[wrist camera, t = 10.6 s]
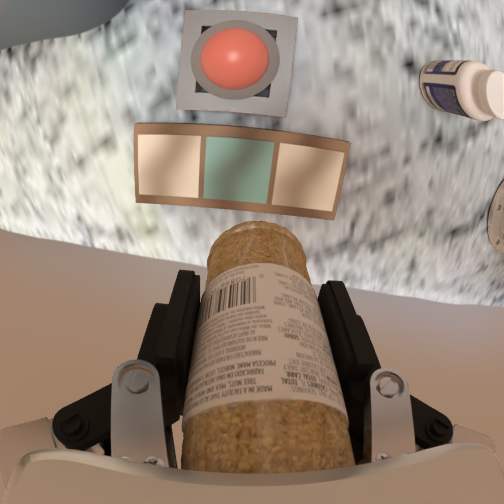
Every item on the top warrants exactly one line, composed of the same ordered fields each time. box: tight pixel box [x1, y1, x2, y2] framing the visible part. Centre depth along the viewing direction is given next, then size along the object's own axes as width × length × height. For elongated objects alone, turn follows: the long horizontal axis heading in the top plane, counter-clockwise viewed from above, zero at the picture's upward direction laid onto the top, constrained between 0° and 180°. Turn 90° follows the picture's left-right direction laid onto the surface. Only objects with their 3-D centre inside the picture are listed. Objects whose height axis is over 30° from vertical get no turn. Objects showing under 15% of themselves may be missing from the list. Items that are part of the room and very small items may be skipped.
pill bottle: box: [420, 61, 504, 121], centre depth 18 cm, size 5×5×10 cm
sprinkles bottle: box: [181, 221, 356, 474], centre depth 8 cm, size 5×5×13 cm
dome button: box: [191, 20, 280, 99], centre depth 19 cm, size 7×7×6 cm
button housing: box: [176, 10, 298, 118], centre depth 21 cm, size 9×9×3 cm
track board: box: [134, 123, 351, 220], centre depth 27 cm, size 20×8×1 cm, turn 84°
